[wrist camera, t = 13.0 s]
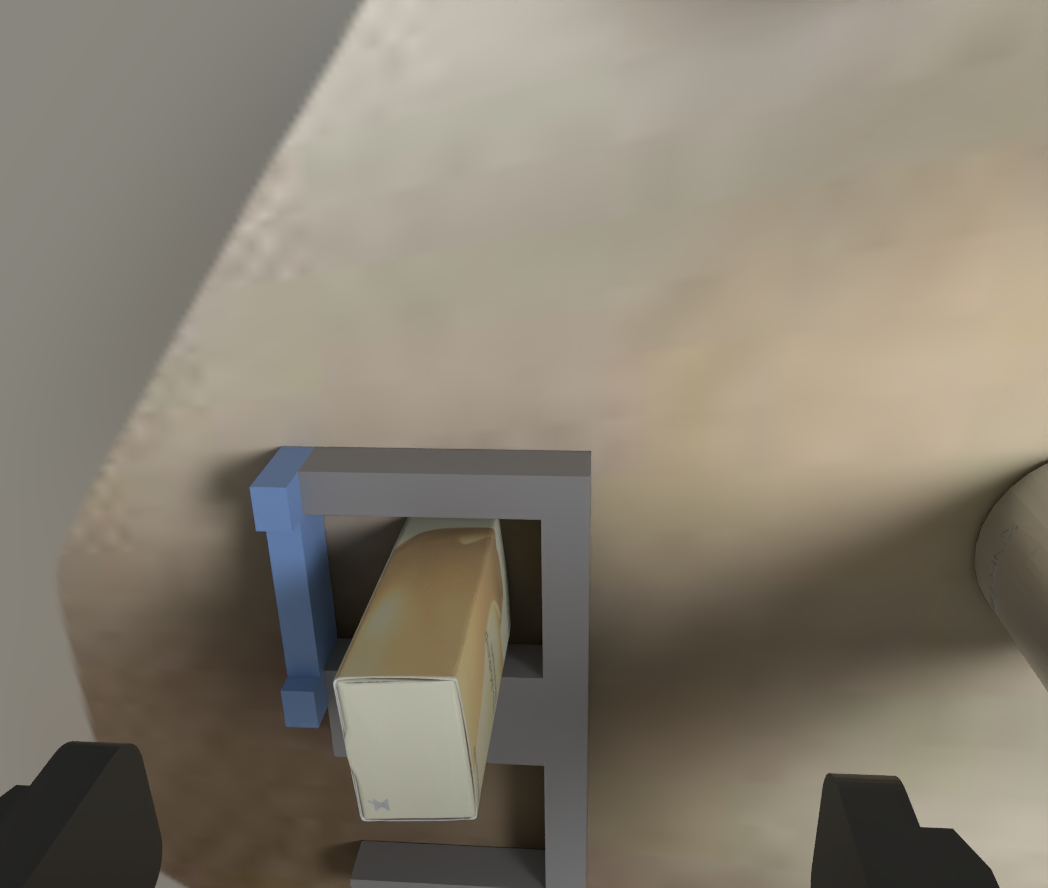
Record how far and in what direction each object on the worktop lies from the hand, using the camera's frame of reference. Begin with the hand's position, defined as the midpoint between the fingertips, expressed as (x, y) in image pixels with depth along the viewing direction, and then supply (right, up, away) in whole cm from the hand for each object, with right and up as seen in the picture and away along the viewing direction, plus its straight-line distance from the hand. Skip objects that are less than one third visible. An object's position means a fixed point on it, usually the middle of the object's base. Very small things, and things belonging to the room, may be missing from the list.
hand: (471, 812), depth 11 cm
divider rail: (-3, -7, +34) cm, 35 cm away
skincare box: (-2, -1, +32) cm, 32 cm away
